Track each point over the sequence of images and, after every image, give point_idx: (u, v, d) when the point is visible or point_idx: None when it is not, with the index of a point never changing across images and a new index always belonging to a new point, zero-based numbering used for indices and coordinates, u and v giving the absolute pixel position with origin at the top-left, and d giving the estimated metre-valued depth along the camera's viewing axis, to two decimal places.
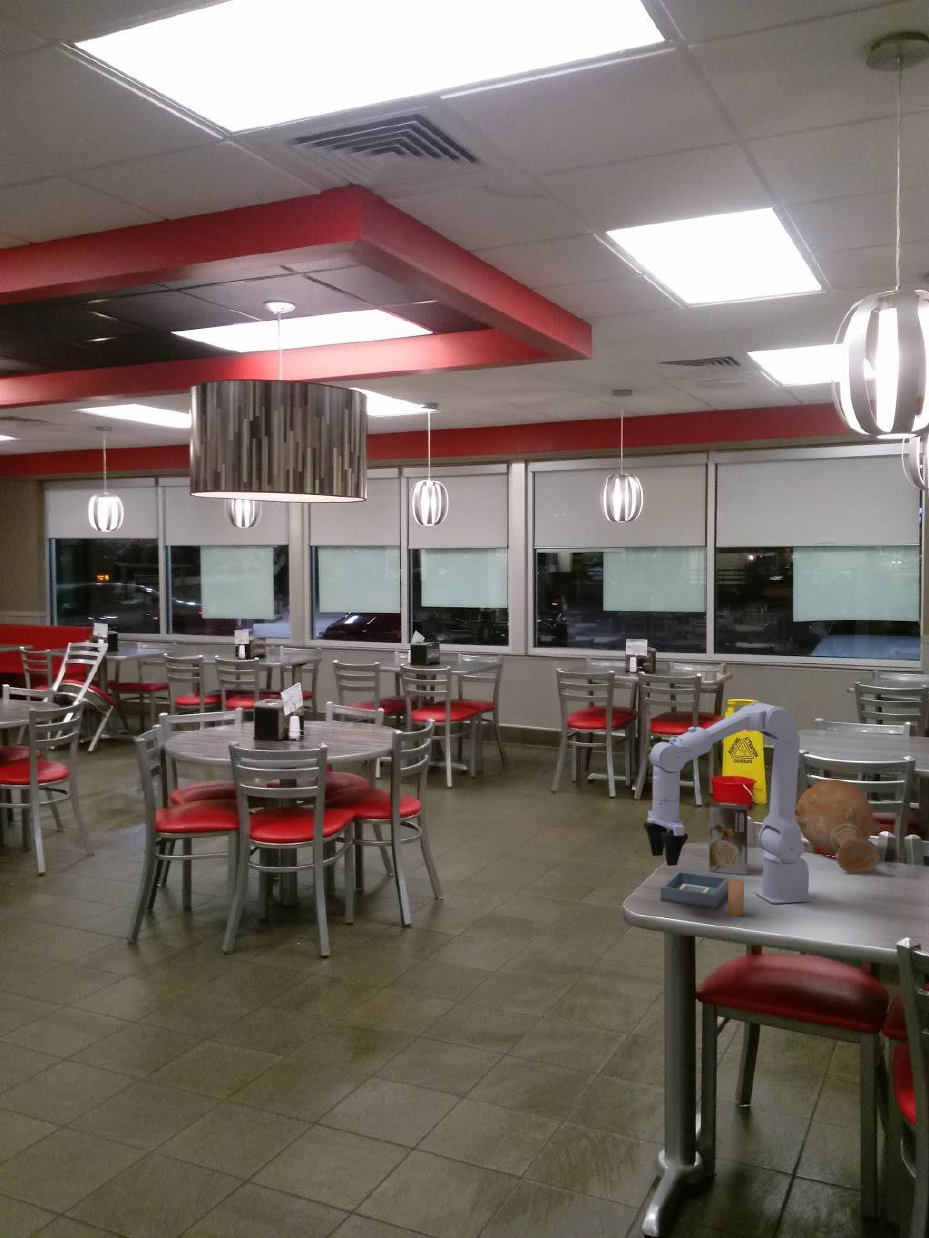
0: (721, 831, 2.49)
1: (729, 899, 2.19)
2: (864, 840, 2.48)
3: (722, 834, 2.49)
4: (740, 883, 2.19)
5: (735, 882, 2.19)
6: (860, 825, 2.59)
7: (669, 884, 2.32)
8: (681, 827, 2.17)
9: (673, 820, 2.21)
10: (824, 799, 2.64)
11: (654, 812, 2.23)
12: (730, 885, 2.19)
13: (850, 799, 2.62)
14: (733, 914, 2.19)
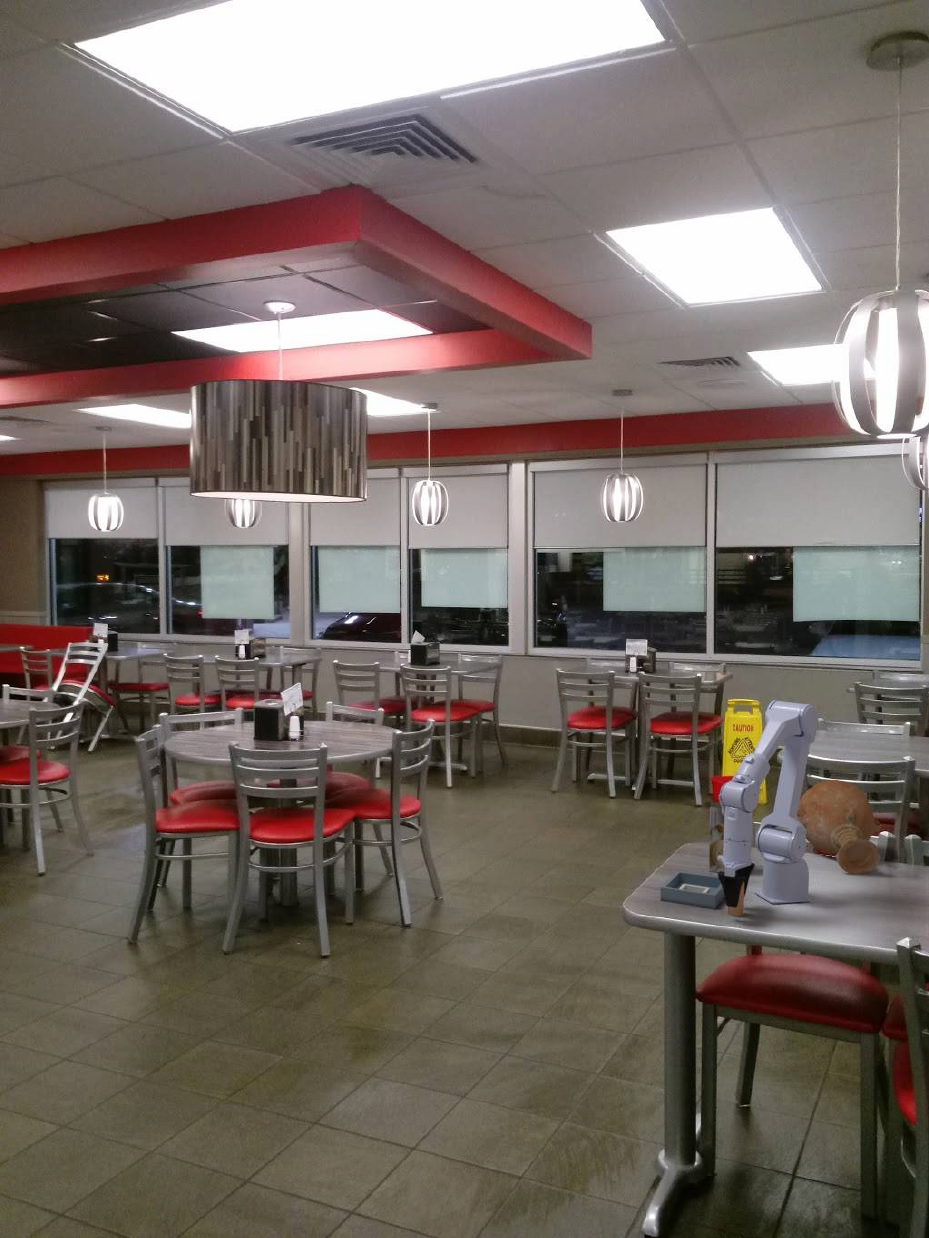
0: (721, 831, 2.49)
1: None
2: (865, 841, 2.48)
3: (722, 834, 2.49)
4: None
5: None
6: (861, 826, 2.58)
7: (669, 884, 2.32)
8: (731, 868, 2.13)
9: (737, 861, 2.17)
10: (825, 799, 2.63)
11: (723, 850, 2.20)
12: None
13: (851, 799, 2.62)
14: (733, 914, 2.19)
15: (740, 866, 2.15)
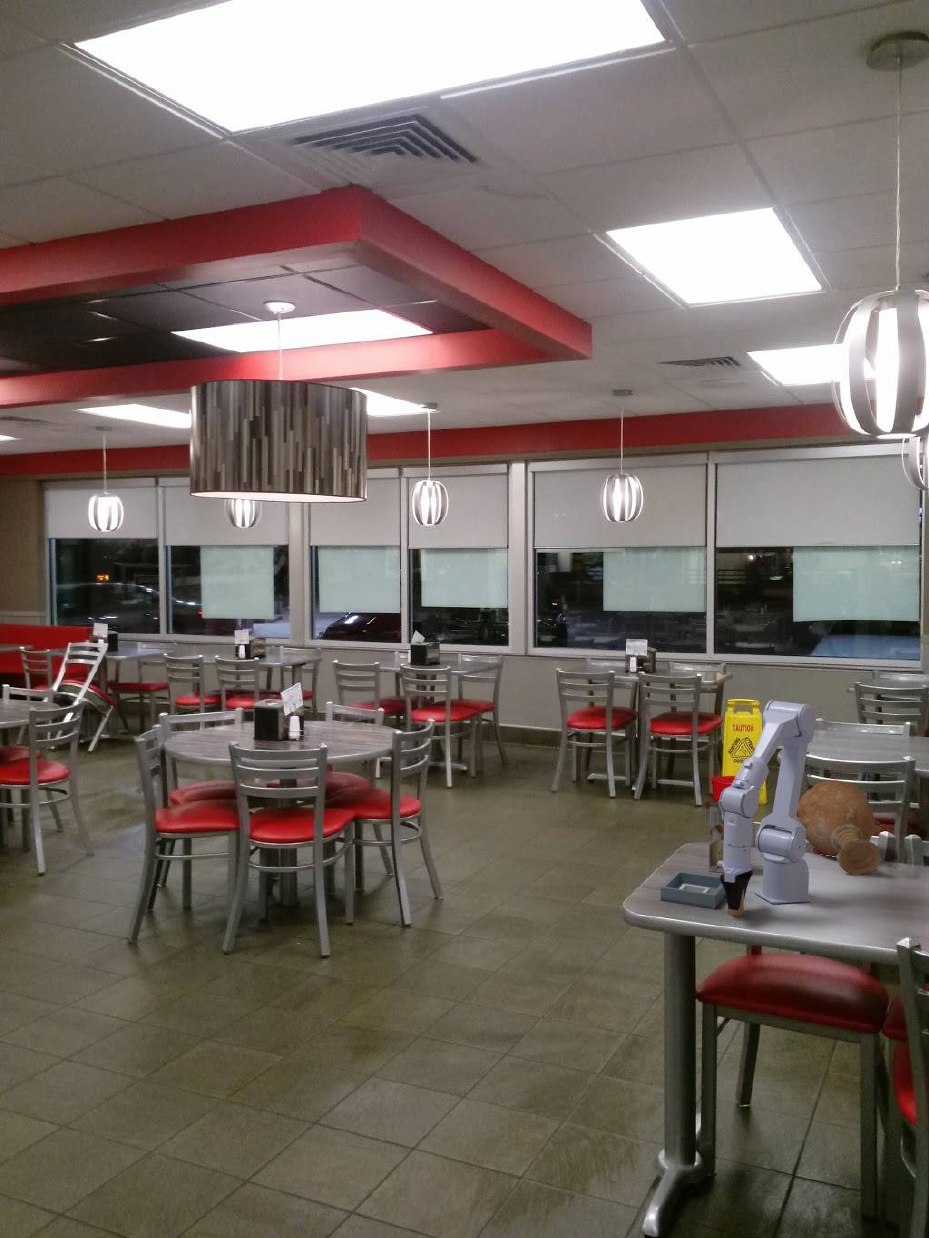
0: (721, 831, 2.49)
1: None
2: (865, 841, 2.47)
3: (722, 834, 2.49)
4: None
5: None
6: (861, 827, 2.58)
7: (669, 884, 2.32)
8: (731, 874, 2.13)
9: (736, 867, 2.17)
10: (825, 800, 2.63)
11: (723, 856, 2.20)
12: None
13: (851, 800, 2.61)
14: (733, 914, 2.19)
15: (740, 872, 2.15)
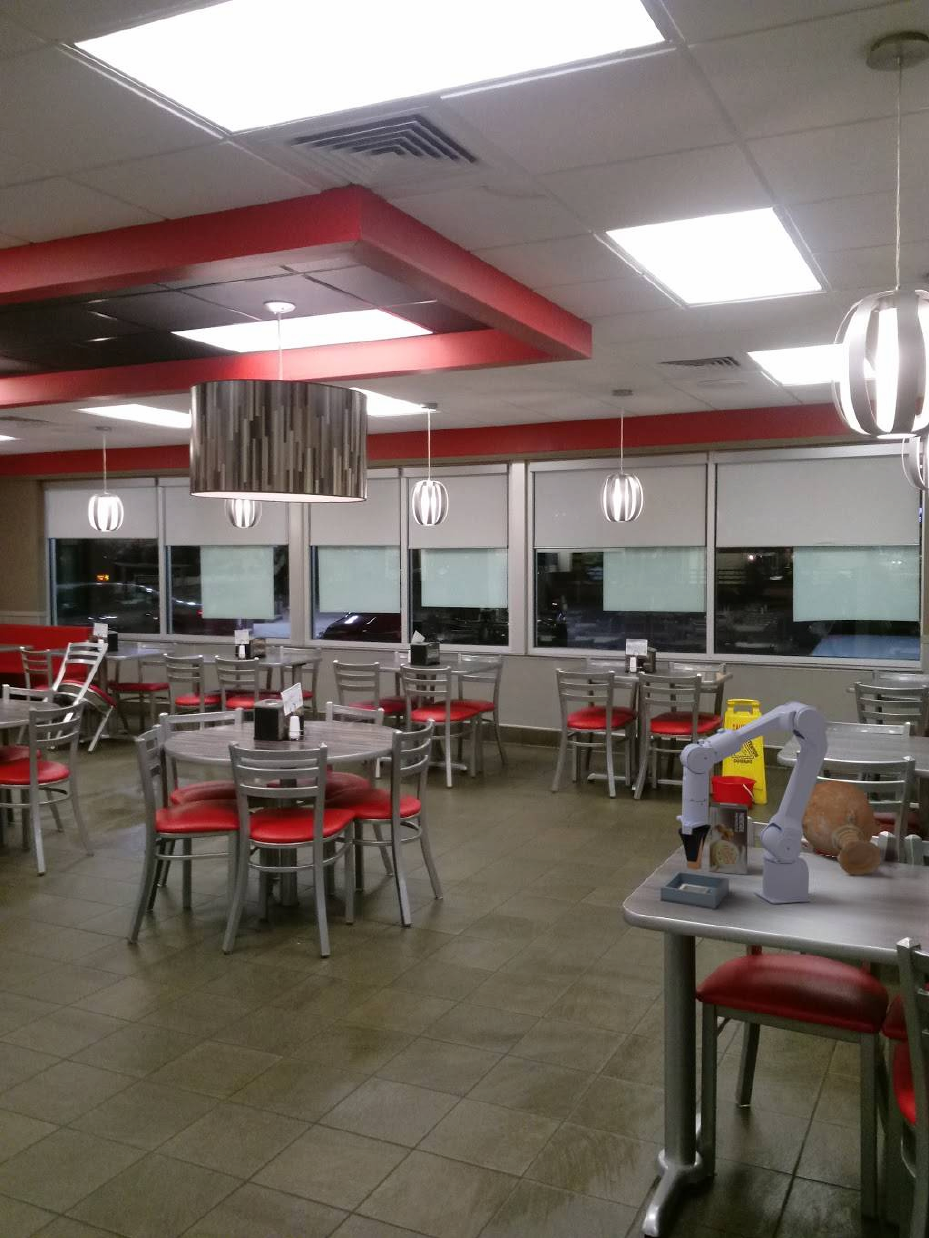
0: (721, 831, 2.49)
1: None
2: (866, 842, 2.47)
3: (722, 834, 2.49)
4: None
5: None
6: (862, 827, 2.57)
7: (669, 884, 2.32)
8: (688, 826, 2.23)
9: (694, 820, 2.26)
10: (825, 800, 2.62)
11: None
12: None
13: (852, 800, 2.61)
14: (691, 867, 2.28)
15: (697, 824, 2.25)
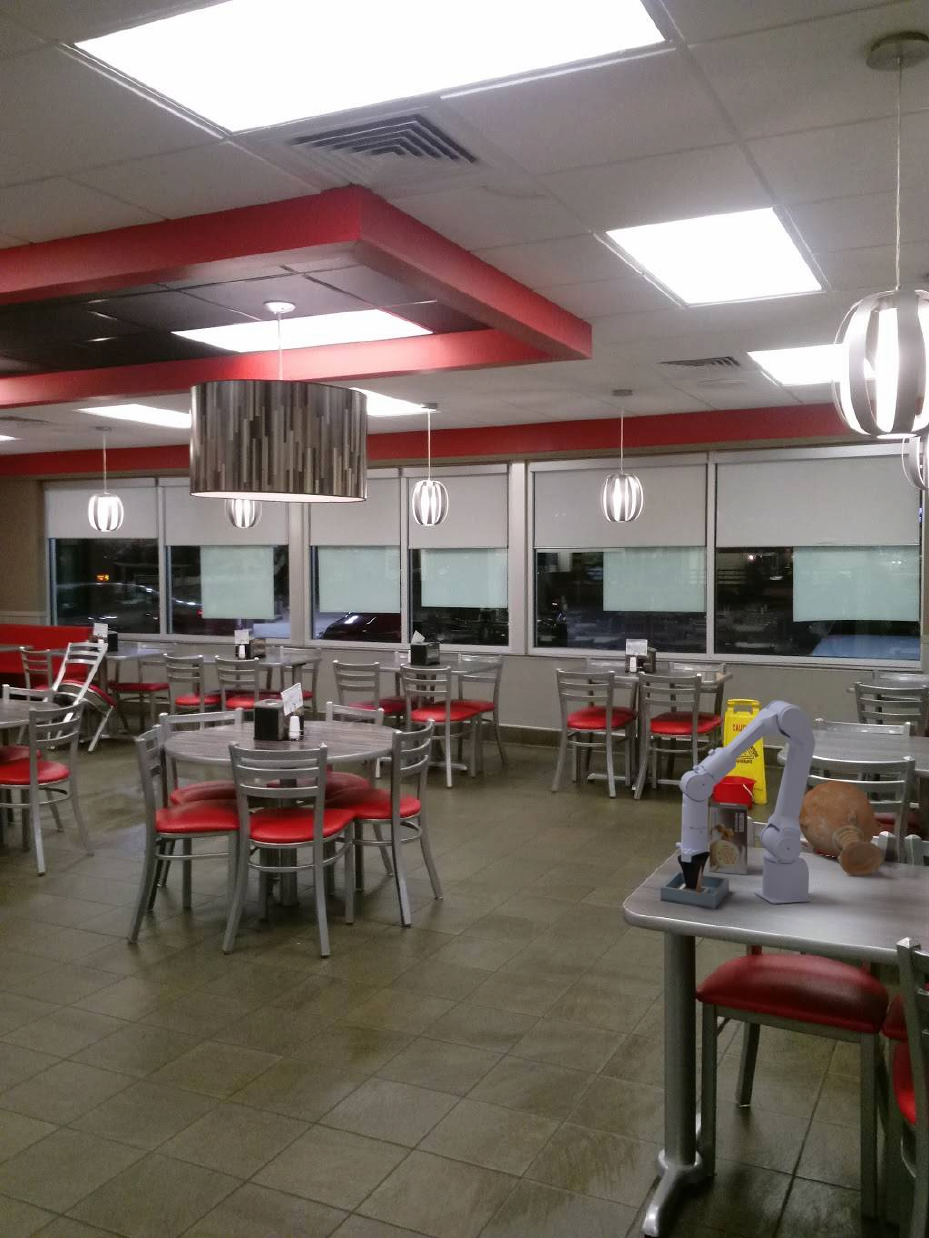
0: (721, 831, 2.49)
1: None
2: (867, 842, 2.46)
3: (722, 834, 2.49)
4: None
5: None
6: (863, 828, 2.57)
7: (669, 884, 2.32)
8: (687, 854, 2.23)
9: (693, 847, 2.27)
10: (826, 801, 2.62)
11: (681, 837, 2.30)
12: None
13: (852, 801, 2.60)
14: None
15: (696, 852, 2.25)
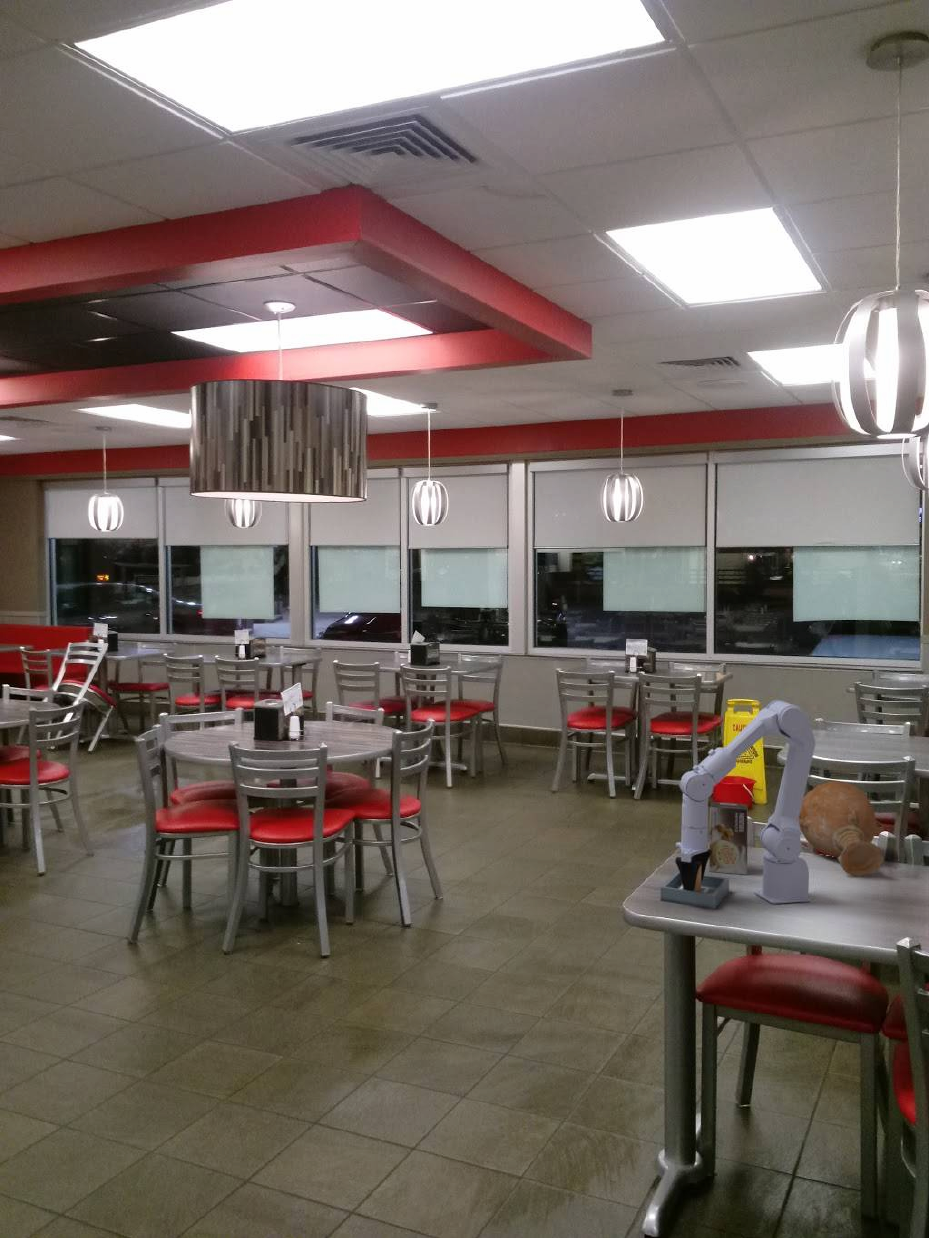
0: (720, 831, 2.49)
1: None
2: (867, 843, 2.46)
3: (722, 834, 2.49)
4: None
5: None
6: (863, 828, 2.57)
7: (669, 884, 2.32)
8: (687, 854, 2.23)
9: (693, 847, 2.27)
10: (826, 801, 2.61)
11: (681, 837, 2.30)
12: None
13: (853, 801, 2.60)
14: None
15: (696, 852, 2.25)
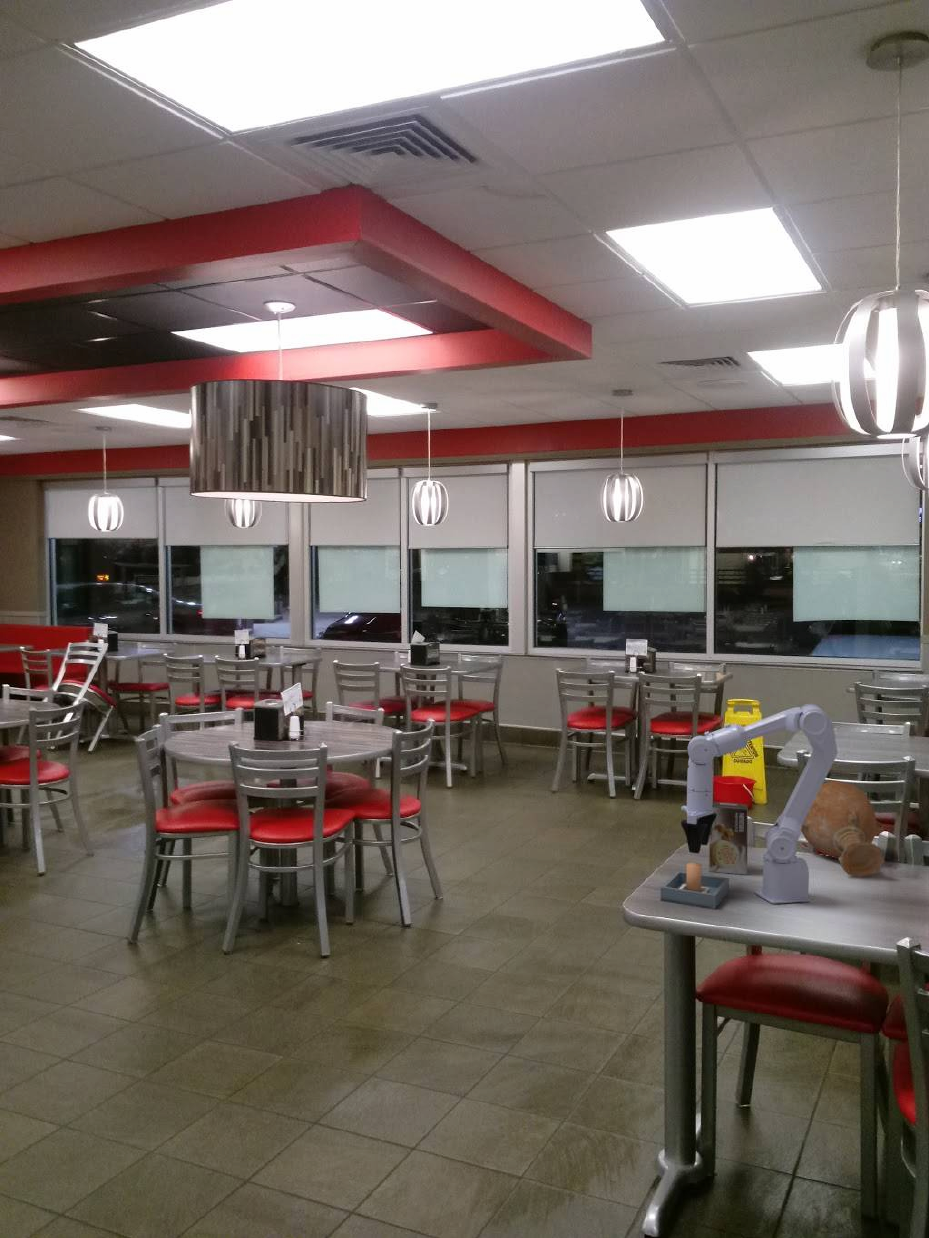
0: (721, 831, 2.49)
1: (687, 881, 2.29)
2: (868, 843, 2.45)
3: (722, 834, 2.49)
4: (697, 866, 2.29)
5: (693, 865, 2.29)
6: (864, 828, 2.56)
7: (669, 884, 2.32)
8: (693, 816, 2.28)
9: (699, 810, 2.31)
10: (827, 802, 2.61)
11: None
12: (688, 868, 2.29)
13: (853, 801, 2.59)
14: None
15: (702, 814, 2.30)
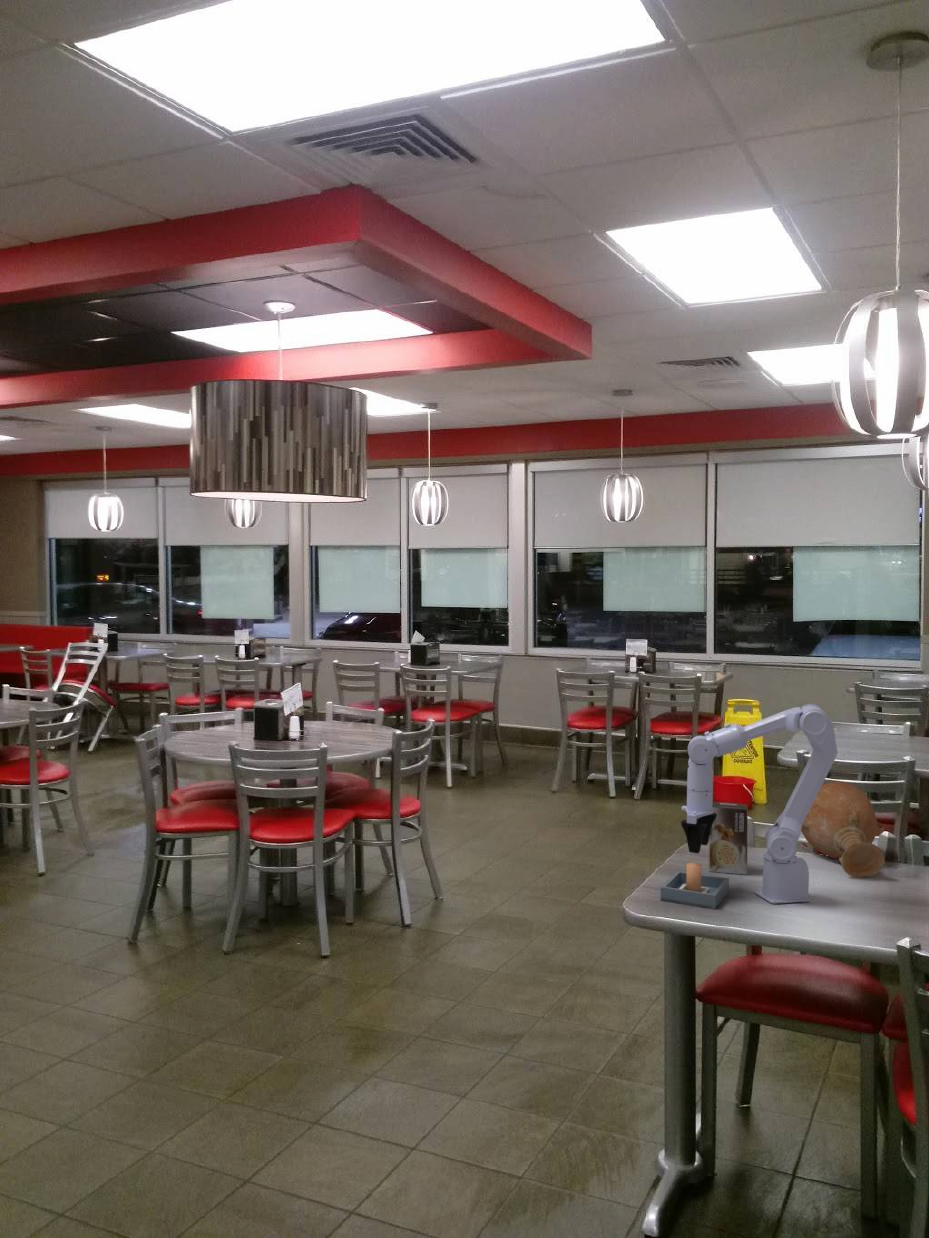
0: (721, 831, 2.49)
1: (687, 881, 2.29)
2: (869, 844, 2.45)
3: (722, 834, 2.49)
4: (697, 866, 2.29)
5: (693, 865, 2.29)
6: (864, 829, 2.56)
7: (669, 884, 2.32)
8: (693, 816, 2.28)
9: (699, 810, 2.31)
10: (827, 802, 2.60)
11: None
12: (688, 868, 2.29)
13: (854, 802, 2.59)
14: None
15: (702, 814, 2.30)
